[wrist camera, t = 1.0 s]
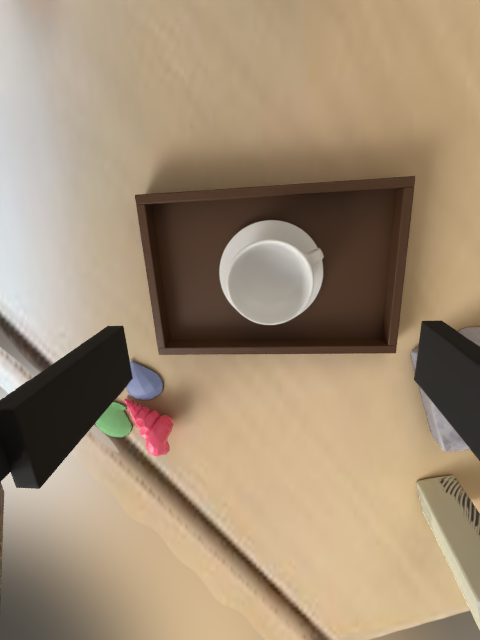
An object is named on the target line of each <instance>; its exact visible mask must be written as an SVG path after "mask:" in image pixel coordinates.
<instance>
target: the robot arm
mask: <svg viewBox="0 0 480 640" xmlns="http://www.w3.org/2000/svg"><path fill="white" fill-rule="evenodd" d="M132 379H133V377H132V371H131V366H130V360H129V355H128V350H127V344H126V339H125V333H124V328H123V326H107V327H106V328H104V329H103V330H101V331H100V332H99V333H97V334H96V335H94V336H93V337H91V338H90V339H89V340H87V341H86V342H84V343H83V344H81V345H80V346H78V347H77V348H76V349H74V350H73V351H71V352H70V353H68V354H67V355H66V356H64V357H63V358H61V359H60V360H58V361H57V362H55V363H54V364H53V365H51V366H50V367H48V368H47V369H45V370H44V371H43V372H41V373H40V374H38V375H37V376H35V377H34V378H32V379H31V380H29V381H27V382H26V383H24V384H23V385H21V386H20V387H18V388H17V389H16V390H15V391H13V392H11V393H10V394H8V395H7V396H6V397H5V398H3V399H1V400H0V600H1V570H2V538H3V510H4V508H3V507H4V490H3V487H2V485H1V480H3V479H4V478H5V476H7V475H8V474H9V472H11V474H12V476H13V479H14V482H15V485H16V487H17V488H41V486H42V485H43V484H44V483H45V482H46V480H47V479H48V478H49V477H50V476H51V475H52V473H53V472H54V471H55V470H56V469H57V467H58V466H59V465H60V464H61V463H62V461H63V460H64V459H65V458H66V457H67V456H68V454H69V453H70V452H71V451H72V450H73V449H74V447H75V446H76V445H77V444H78V443H79V441H80V440H81V439H82V438H83V437H84V436H85V434H86V433H87V432H88V431H89V430H90V428H91V427H92V426H93V425H94V424H95V423H96V421H97V420H98V419H99V418H100V417H101V415H102V414H103V413H104V412H105V411H106V410H107V408H108V407H109V406H110V405H111V404H112V402H113V401H114V400H115V399H116V398H117V397H118V395H119V394H120V393H121V392H122V391H123V389H124V388H125V387H126V386H127V385H128V384H129V382H130V381H131V380H132ZM414 380H415V381H416V382H417V384H418V385H419V386H420V387H421V389H422V390H423V391H424V392H425V394H426V395H427V396H428V397H429V399H430V400H431V401H432V402H433V404H434V405H435V406H436V407H437V409H438V410H439V411H440V412H441V413H442V415H443V416H444V417H445V418H446V420H447V421H448V422H449V423H450V425H451V426H452V427H453V428H454V430H455V431H456V432H457V433H458V435H459V436H460V437H461V438H462V439H463V441H464V442H465V443H466V444H467V446H468V447H469V448H470V449H471V451H472V452H473V453H474V454H475V456H476V457H477V458H478V459H479V461H480V346H478V345H477V344H475V343H474V342H472V341H471V340H469V339H468V338H466V337H465V336H463V335H462V334H460V333H459V332H458V331H456V330H455V329H453V328H452V327H450V326H449V325H447V324H446V323H444V322H443V321H422V325H421V332H420V340H419V347H418V355H417V362H416V370H415V377H414Z"/></svg>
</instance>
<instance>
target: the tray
mask: <svg viewBox="0 0 480 640" xmlns="http://www.w3.org/2000/svg"><path fill="white" fill-rule="evenodd" d="M414 183H415V176H409V177H394V178H380V179H365V180H350V181H335V182H320V183H305V184H290V185H276V186H261V187H246V188H231V189H216V190H201V191H186V192H172V193H157V194H142V195H135V199H136V204H137V212H138V219H139V225H140V232H141V239H142V245H143V252H144V259H145V265H146V272H147V279H148V285H149V292H150V298H151V305H152V312H153V318H154V325H155V332H156V338H157V345H158V352H159V355H187V354H339V353H396V347H397V346H396V345H397V338H398V329H399V319H400V310H401V301H402V292H403V283H404V274H405V265H406V256H407V247H408V238H409V229H410V220H411V210H412V201H413V192H414ZM267 220H277V221H283V222H287V223H290V224H293V225H295V226H297V227H298V228H300V229H302V230H303V231H304V232H305V233H307V234H308V235H309V236H310V237H311V239H312V240H313V241H314V243H315V244H316V246H317V248H320V249H321V251H322V253H323V256H324V258H323V259H322V262H323V279H322V284H321V287H320V290H319V292H318V294H317V296H316V298H315V299H314V301H313V302H312V304H311V305H310V306H309V307H308V308H307V309H306V310H305V311H303V312H302V313H301V314H299V315H298V316H296V317H295V318H293V319H291V320H289V321H287V322H284V323H281V324H276V325H264V324H259V323H255V322H253V321H250V320H249V319H247V318H245V317H244V316H242V315H241V314H240V313H239V312H238V311H237V310H236V309H235V308H234V307H233V306H232V305H231V304H230V302H229V301H228V300H227V298H226V296H225V294H224V292H223V290H222V287H221V283H220V276H219V269H220V262H221V258H222V255H223V252H224V250H225V248H226V246H227V244H228V243H229V242H230V240H231V239H232V238H233V237H234V236H235V235H236V234H237V233H238V232H239V231H241V230H242V229H244V228H245V227H247V226H249V225H251V224H254V223H257V222H260V221H267Z"/></svg>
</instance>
